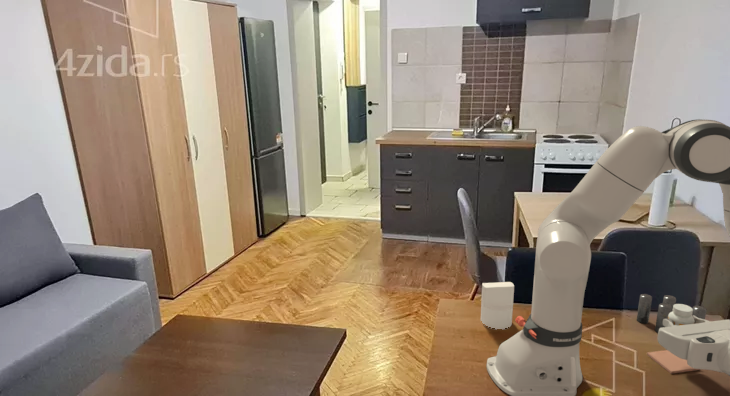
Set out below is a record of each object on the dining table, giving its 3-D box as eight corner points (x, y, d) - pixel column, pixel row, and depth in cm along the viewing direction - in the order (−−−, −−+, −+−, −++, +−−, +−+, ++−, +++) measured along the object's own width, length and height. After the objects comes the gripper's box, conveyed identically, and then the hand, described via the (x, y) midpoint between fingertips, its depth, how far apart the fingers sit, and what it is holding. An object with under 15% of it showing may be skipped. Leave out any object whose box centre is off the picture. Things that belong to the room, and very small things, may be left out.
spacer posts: (665, 341, 124) (670, 314, 122) (634, 318, 136) (637, 294, 134) (704, 336, 126) (709, 310, 124) (670, 315, 138) (674, 290, 135)
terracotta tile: (670, 373, 111) (671, 371, 111) (646, 354, 119) (646, 352, 119) (699, 369, 112) (700, 367, 112) (673, 351, 120) (674, 349, 120)
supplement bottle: (661, 341, 114) (666, 307, 112) (669, 334, 117) (674, 300, 115) (686, 351, 110) (691, 315, 108) (694, 342, 113) (699, 307, 111)
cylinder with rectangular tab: (505, 313, 141) (507, 277, 138) (516, 328, 132) (519, 291, 129) (476, 314, 141) (478, 278, 137) (485, 330, 132) (487, 292, 129)
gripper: (772, 333, 101) (716, 303, 114) (689, 343, 98) (642, 312, 111) (767, 358, 102) (712, 326, 115) (685, 369, 99) (639, 335, 113)
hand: (677, 319), depth 113 cm, fingers closed on supplement bottle, 5 cm apart
